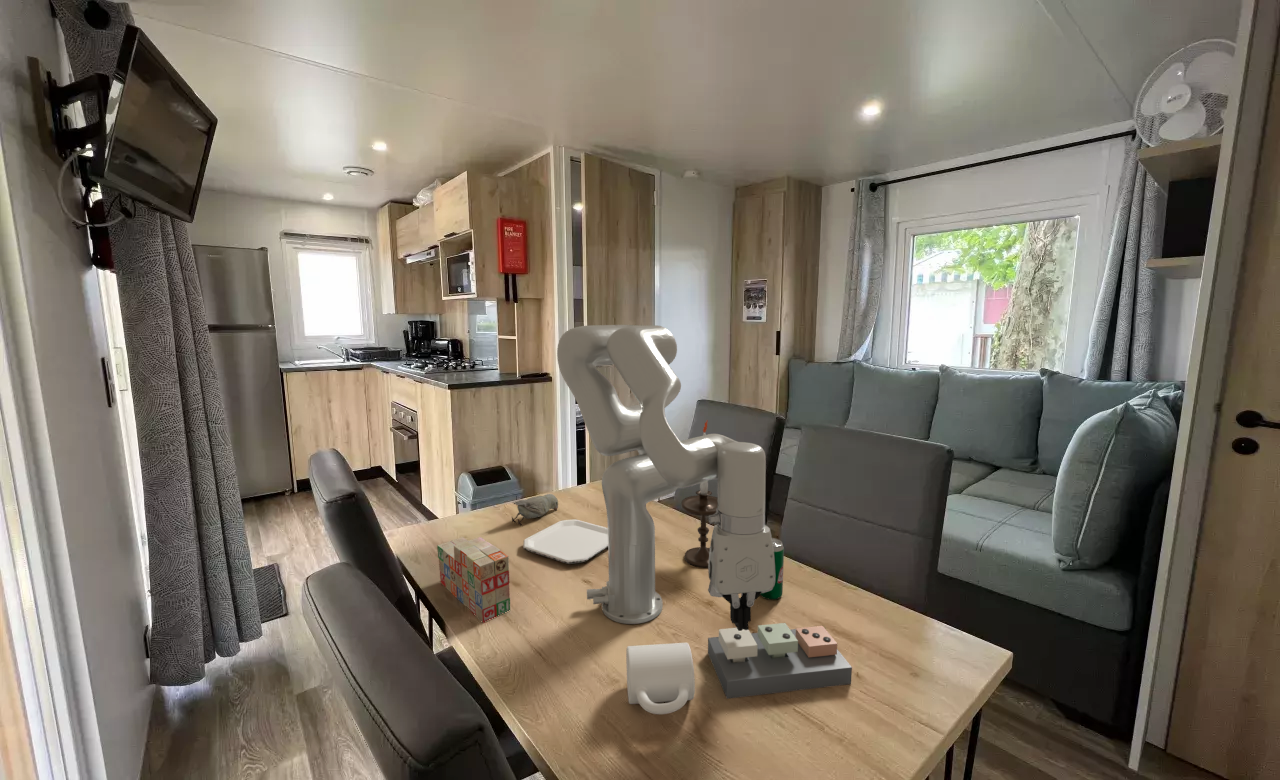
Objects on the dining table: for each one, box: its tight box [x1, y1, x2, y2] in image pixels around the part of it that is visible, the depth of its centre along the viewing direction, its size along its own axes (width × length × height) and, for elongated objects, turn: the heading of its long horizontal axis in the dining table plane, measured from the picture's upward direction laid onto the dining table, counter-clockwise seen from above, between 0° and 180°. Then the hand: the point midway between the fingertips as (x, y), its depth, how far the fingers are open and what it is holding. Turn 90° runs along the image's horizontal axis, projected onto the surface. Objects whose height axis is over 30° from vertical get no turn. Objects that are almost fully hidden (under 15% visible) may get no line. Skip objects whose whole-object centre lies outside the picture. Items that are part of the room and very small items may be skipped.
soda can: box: [759, 537, 785, 601], centre depth 109 cm, size 5×5×12 cm
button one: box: [718, 627, 757, 663], centre depth 85 cm, size 5×5×5 cm
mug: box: [625, 642, 696, 715], centre depth 79 cm, size 12×10×8 cm
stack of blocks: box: [436, 536, 511, 623], centre depth 109 cm, size 21×6×12 cm, turn 43°
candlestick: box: [680, 419, 717, 569], centre depth 123 cm, size 11×11×35 cm
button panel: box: [707, 628, 853, 699], centre depth 87 cm, size 21×11×3 cm, turn 98°
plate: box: [523, 518, 608, 565], centre depth 134 cm, size 21×21×2 cm
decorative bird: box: [511, 493, 559, 526], centre depth 152 cm, size 5×16×8 cm, turn 140°
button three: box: [795, 625, 838, 657], centre depth 88 cm, size 5×5×5 cm
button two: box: [757, 622, 798, 659], centre depth 86 cm, size 5×5×5 cm
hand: (740, 625), depth 84 cm, fingers closed
